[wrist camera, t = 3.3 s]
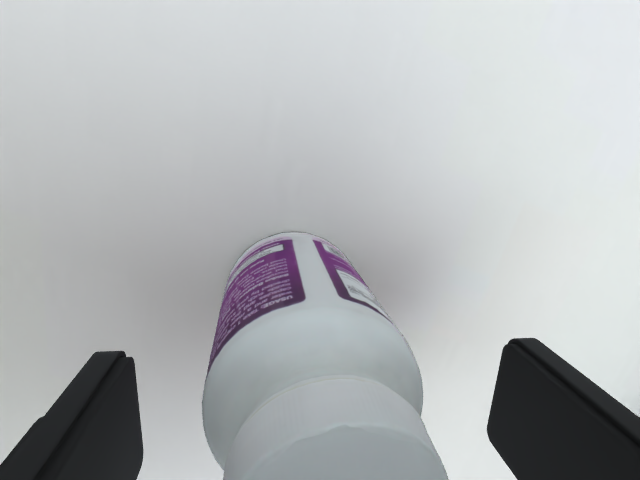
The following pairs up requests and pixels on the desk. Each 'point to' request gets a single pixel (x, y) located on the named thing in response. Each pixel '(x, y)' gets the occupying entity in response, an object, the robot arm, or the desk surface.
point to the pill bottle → (311, 373)
